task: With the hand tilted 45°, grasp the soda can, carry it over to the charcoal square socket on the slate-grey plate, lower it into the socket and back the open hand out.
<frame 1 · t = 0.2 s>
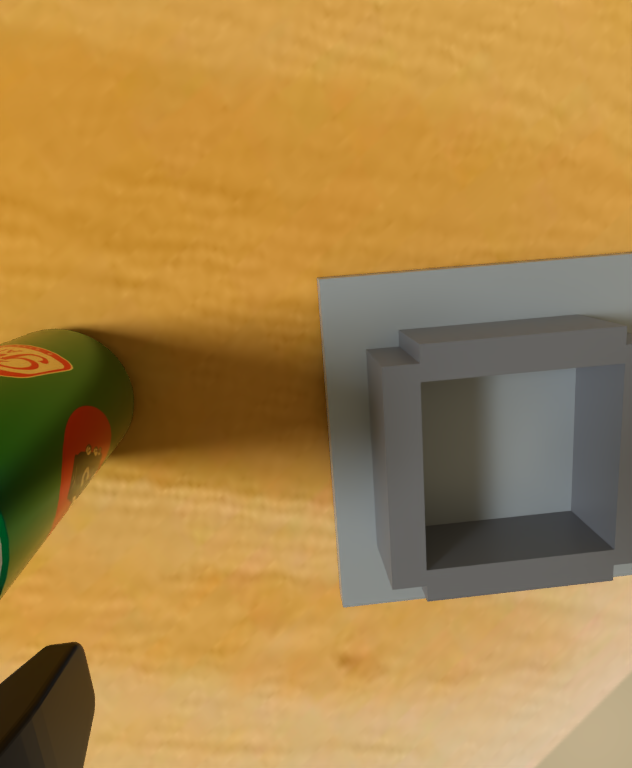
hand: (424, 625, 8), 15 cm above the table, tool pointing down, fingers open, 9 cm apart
soda can: (69, 393, 21), on the table
socket: (480, 431, 23), on the table
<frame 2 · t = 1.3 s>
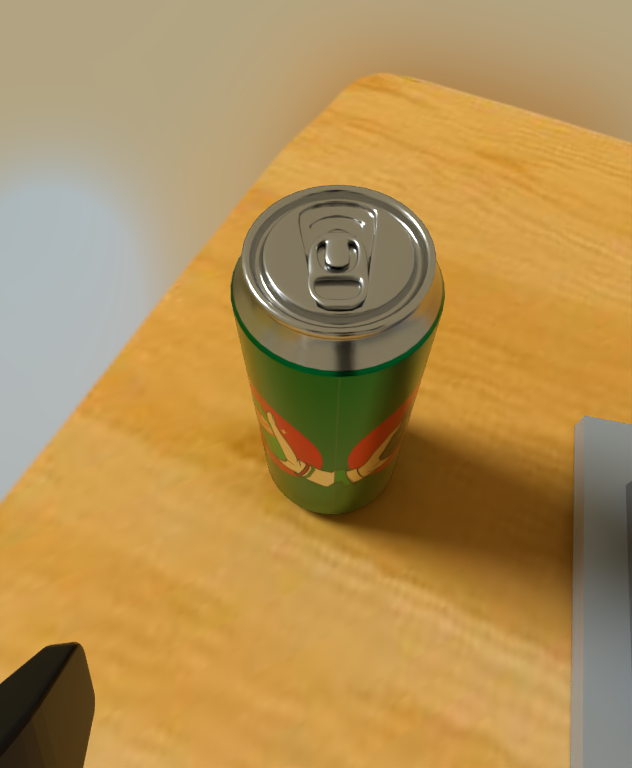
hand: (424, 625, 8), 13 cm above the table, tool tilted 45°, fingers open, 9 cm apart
soda can: (330, 458, 23), on the table
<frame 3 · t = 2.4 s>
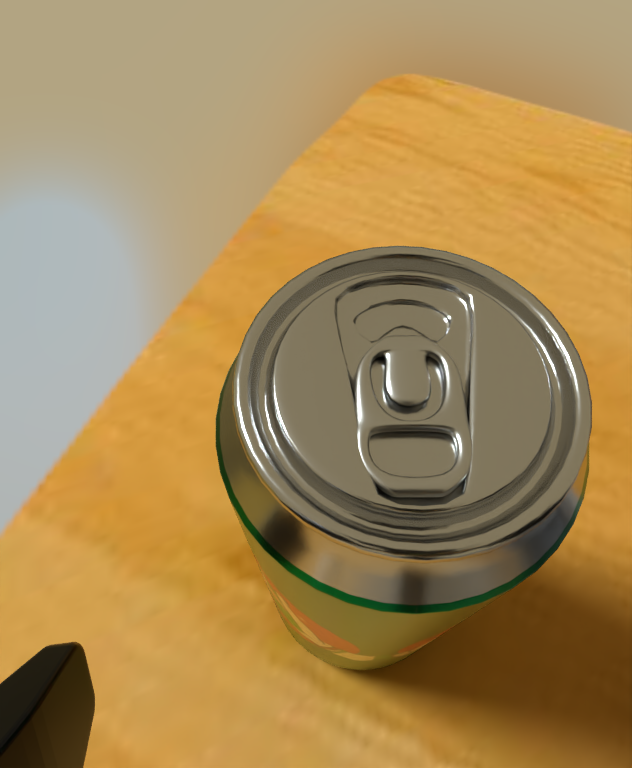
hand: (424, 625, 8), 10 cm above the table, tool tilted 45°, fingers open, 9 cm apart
soda can: (357, 579, 18), on the table
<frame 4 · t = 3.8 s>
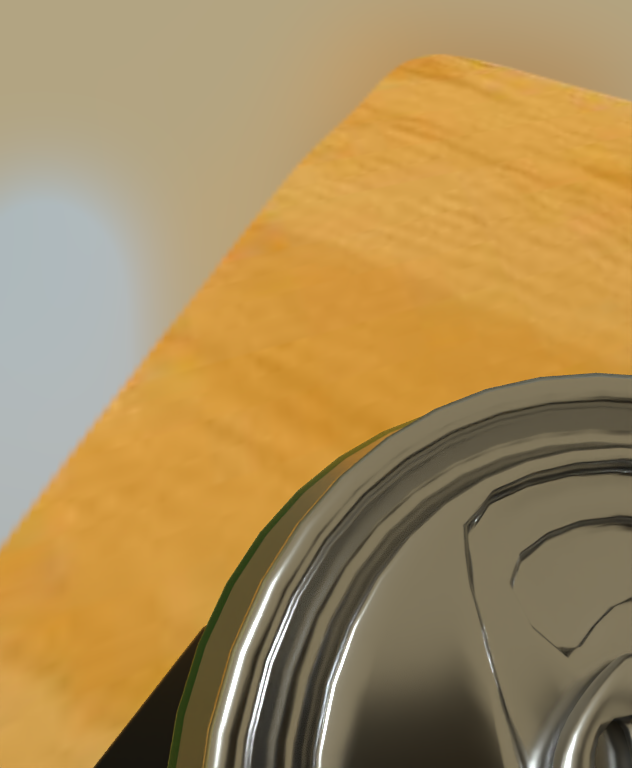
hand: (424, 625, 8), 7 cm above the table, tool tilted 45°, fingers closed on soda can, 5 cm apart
soda can: (392, 728, 13), on the table, touching gripper
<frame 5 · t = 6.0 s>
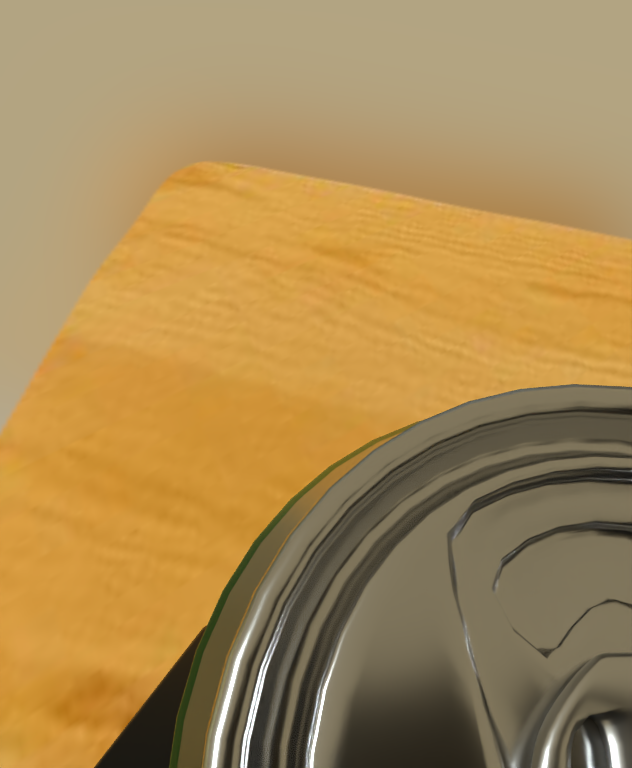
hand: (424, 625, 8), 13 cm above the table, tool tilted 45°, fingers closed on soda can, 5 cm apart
soda can: (391, 724, 13), point 6 cm above the table, touching gripper
when the fingers open (9 cm above the table, at t = 8.3 s): soda can stays where it is, resting on socket.
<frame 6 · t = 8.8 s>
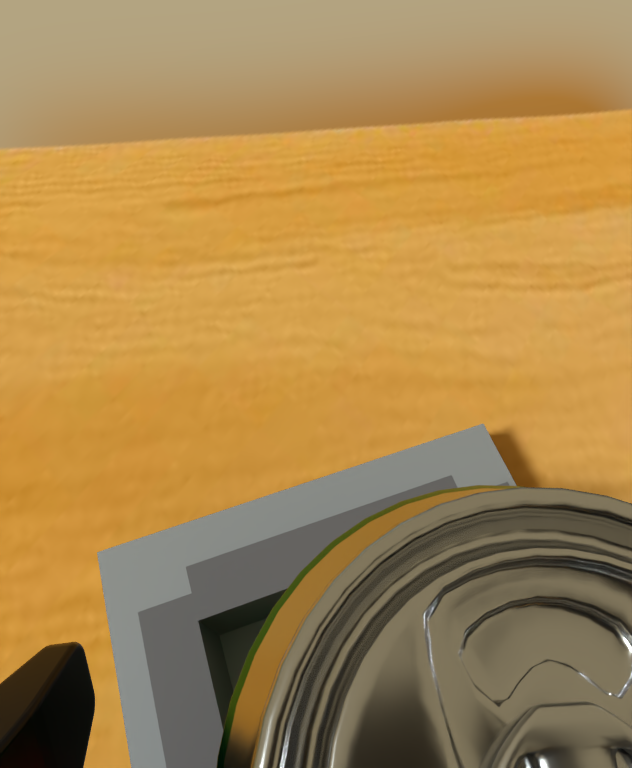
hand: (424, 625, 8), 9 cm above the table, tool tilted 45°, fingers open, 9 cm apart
soda can: (389, 733, 14), point 1 cm above the table, touching socket
socket: (380, 724, 15), on the table
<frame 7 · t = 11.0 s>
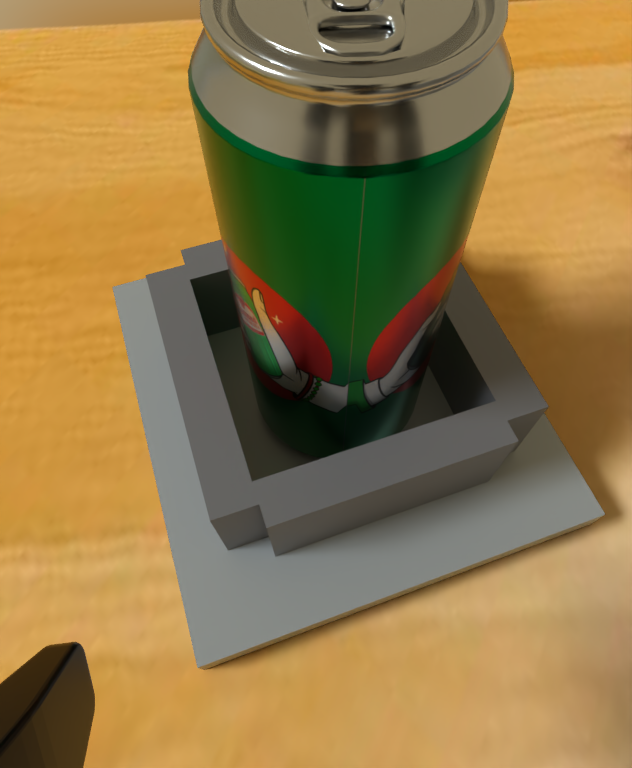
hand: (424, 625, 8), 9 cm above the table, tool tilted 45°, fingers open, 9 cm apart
soda can: (335, 395, 19), point 1 cm above the table, touching socket
socket: (331, 402, 20), on the table
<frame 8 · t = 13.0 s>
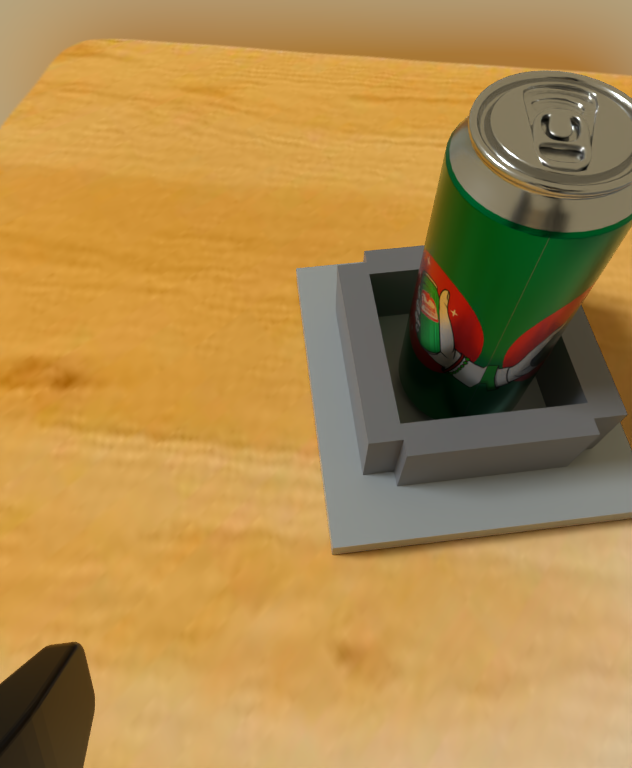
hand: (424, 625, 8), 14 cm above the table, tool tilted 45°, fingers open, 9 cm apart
soda can: (456, 380, 24), point 1 cm above the table, touching socket
socket: (450, 386, 25), on the table
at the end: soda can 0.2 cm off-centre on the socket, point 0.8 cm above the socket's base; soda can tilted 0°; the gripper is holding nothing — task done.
